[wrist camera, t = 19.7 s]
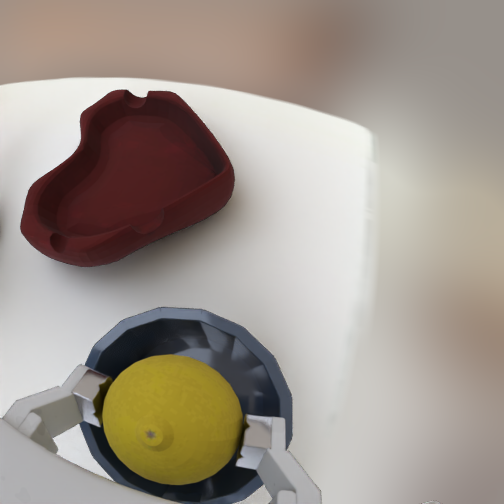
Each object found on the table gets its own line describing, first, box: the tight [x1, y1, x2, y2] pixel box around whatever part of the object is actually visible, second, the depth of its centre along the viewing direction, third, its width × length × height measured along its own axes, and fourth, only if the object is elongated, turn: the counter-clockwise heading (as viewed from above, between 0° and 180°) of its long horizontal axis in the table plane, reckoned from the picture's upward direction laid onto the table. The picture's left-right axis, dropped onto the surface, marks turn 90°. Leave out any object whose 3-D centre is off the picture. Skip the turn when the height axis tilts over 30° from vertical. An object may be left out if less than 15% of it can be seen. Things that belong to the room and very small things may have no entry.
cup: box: [79, 307, 293, 504], centre depth 14 cm, size 10×10×7 cm
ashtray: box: [20, 90, 235, 267], centre depth 22 cm, size 18×16×5 cm
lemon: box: [102, 354, 243, 485], centre depth 10 cm, size 6×6×8 cm
